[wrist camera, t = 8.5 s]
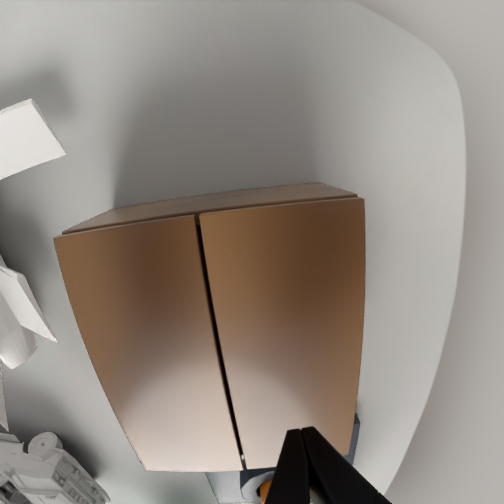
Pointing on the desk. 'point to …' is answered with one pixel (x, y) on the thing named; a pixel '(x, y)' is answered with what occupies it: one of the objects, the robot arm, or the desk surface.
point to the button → (264, 490)
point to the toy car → (44, 474)
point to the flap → (289, 318)
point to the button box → (256, 478)
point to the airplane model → (3, 279)
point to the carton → (162, 323)
